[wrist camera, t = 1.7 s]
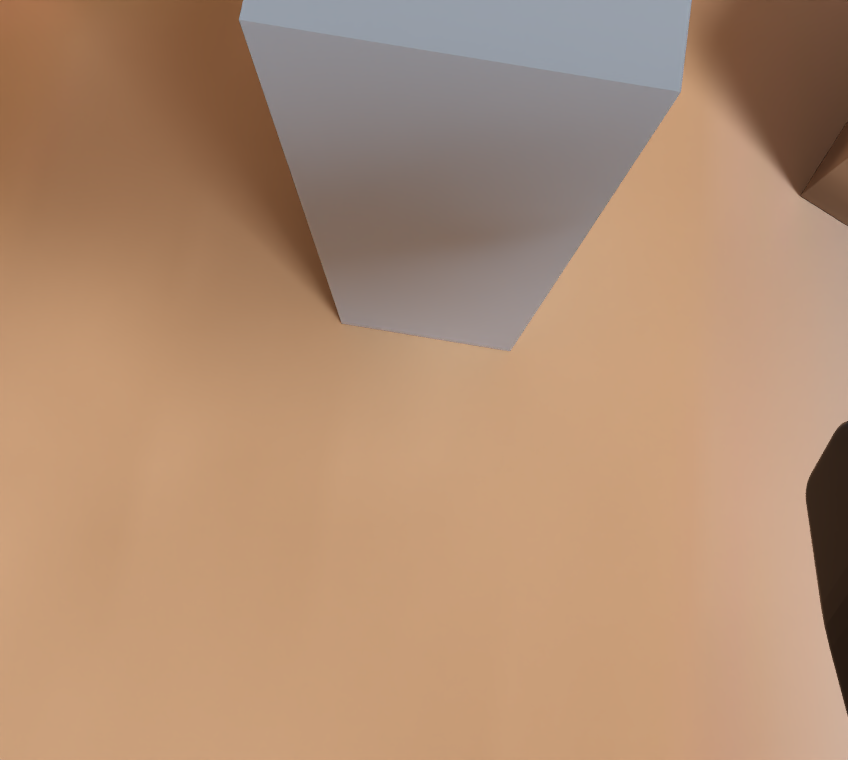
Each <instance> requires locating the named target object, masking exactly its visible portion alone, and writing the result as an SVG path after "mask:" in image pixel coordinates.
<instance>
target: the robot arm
mask: <svg viewBox="0 0 848 760" xmlns="http://www.w3.org/2000/svg"><path fill="white" fill-rule="evenodd" d="M806 504H807V511H808V518H809V525H810V532H811V539H812V546H813V553H814V560H815V567H816V574H817V581H818V588H819V595H820V602H821V609H822V614H823V620H824V625H825V630H826V634H827V638H828V642H829V647H830V651H831V654H832V658H833V662H834V666H835V670H836V673H837V677H838V681H839V685H840V688H841V692H842V696H843V700H844V704H845V707H846V711H847V715H848V421H847V422H844V423H842V424H841V425H840V426H839V427H838V428H837V430H836V431H835V433H834V434H833V436H832V438H831V440H830V441H829V443H828V445H827V447H826V448H825V450H824V452H823V454H822V455H821V457H820V459H819V461H818V462H817V464H816V466H815V468H814V470H813V471H812V473H811V475H810V477H809V480H808V483H807V488H806Z"/></svg>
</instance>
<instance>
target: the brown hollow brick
mask: <svg viewBox="0 0 848 760" xmlns="http://www.w3.org/2000/svg"><path fill="white" fill-rule="evenodd" d="M801 197H803V198H805V199H806V200H808V201H809V202H811V203H813V204H814V205H816V206H817V207H819V208H820V209H822V210H824V211H825V212H827V213H828V214H830V215H832V216H833V217H835V218H836V219H838V220H839V221H841V222H843V223H844V224H846V225H847V226H848V121H847V123H846V125H845V126H844V128H843V129H842V131H841V132H840V134H839V136H838V137H837V139H836V140H835V142H834V144H833V145H832V147H831V148H830V150H829V151H828V153H827V155H826V156H825V158H824V159H823V161H822V162H821V164H820V166H819V167H818V169H817V170H816V172H815V174H814V175H813V177H812V178H811V180H810V181H809V183H808V185H807V186H806V188H805V189H804V191H803V192H802V194H801Z"/></svg>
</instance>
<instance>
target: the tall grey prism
mask: <svg viewBox="0 0 848 760" xmlns="http://www.w3.org/2000/svg"><path fill="white" fill-rule="evenodd" d="M691 2H692V0H243V3H242V8H241V12H240V17H239V22H240V25H241V27H242V30H243V33H244V36H245V39H246V42H247V45H248V48H249V51H250V54H251V57H252V60H253V63H254V66H255V69H256V72H257V75H258V78H259V81H260V84H261V87H262V89H263V92H264V95H265V98H266V101H267V104H268V107H269V110H270V113H271V116H272V119H273V122H274V125H275V128H276V131H277V134H278V137H279V140H280V143H281V146H282V148H283V151H284V154H285V157H286V160H287V163H288V166H289V169H290V172H291V175H292V178H293V181H294V184H295V187H296V190H297V193H298V196H299V199H300V202H301V205H302V208H303V210H304V213H305V216H306V219H307V222H308V225H309V228H310V231H311V234H312V237H313V240H314V243H315V246H316V249H317V252H318V255H319V258H320V261H321V264H322V267H323V270H324V272H325V275H326V278H327V281H328V284H329V287H330V290H331V293H332V296H333V299H334V302H335V305H336V308H337V311H338V314H339V317H340V320H341V323H342V324H348V325H354V326H360V327H367V328H373V329H379V330H385V331H391V332H397V333H403V334H409V335H415V336H421V337H427V338H433V339H439V340H445V341H452V342H458V343H464V344H470V345H476V346H482V347H488V348H494V349H500V350H506V351H511V349H512V348H513V346H514V344H515V343H516V341H517V340H518V338H519V337H520V335H521V334H522V332H523V331H524V329H525V328H526V326H527V325H528V323H529V322H530V320H531V319H532V317H533V316H534V314H535V313H536V311H537V310H538V308H539V306H540V305H541V303H542V302H543V300H544V299H545V297H546V296H547V294H548V293H549V291H550V290H551V288H552V287H553V285H554V284H555V282H556V281H557V279H558V278H559V276H560V275H561V273H562V272H563V270H564V269H565V267H566V265H567V264H568V262H569V261H570V259H571V258H572V256H573V255H574V253H575V252H576V250H577V249H578V247H579V246H580V244H581V243H582V241H583V240H584V238H585V237H586V235H587V234H588V232H589V231H590V229H591V228H592V226H593V224H594V223H595V221H596V220H597V218H598V217H599V215H600V214H601V212H602V211H603V209H604V208H605V206H606V205H607V203H608V202H609V200H610V199H611V197H612V196H613V194H614V193H615V191H616V190H617V188H618V187H619V185H620V183H621V182H622V180H623V179H624V177H625V176H626V174H627V173H628V171H629V170H630V168H631V167H632V165H633V164H634V162H635V161H636V159H637V158H638V156H639V155H640V153H641V152H642V150H643V149H644V147H645V146H646V144H647V142H648V141H649V139H650V138H651V136H652V135H653V133H654V132H655V130H656V129H657V127H658V126H659V124H660V123H661V121H662V120H663V118H664V117H665V115H666V114H667V112H668V111H669V109H670V108H671V106H672V105H673V103H674V101H675V100H676V98H677V97H678V95H679V94H680V92H681V86H682V77H683V69H684V61H685V52H686V44H687V35H688V27H689V19H690V10H691Z"/></svg>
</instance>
